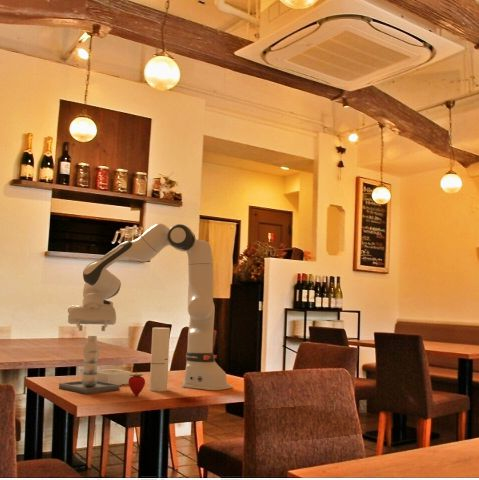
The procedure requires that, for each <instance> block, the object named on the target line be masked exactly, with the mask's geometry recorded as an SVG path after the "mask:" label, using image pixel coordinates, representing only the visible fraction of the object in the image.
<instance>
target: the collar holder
mask: <svg viewBox="0 0 479 480" xmlns="http://www.w3.org/2000/svg"><path fill="white" fill-rule="evenodd" d="M97 375H98V381H102V382H108V383H113V384H118V385H120V386H123V385H122V384H124V385H129V378H130V377H132V376H130V375H132V371H128V370H121V369H116V368H111V369H100V370H99V369H97Z"/></svg>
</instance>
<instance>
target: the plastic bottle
mask: <svg viewBox="0 0 479 480" xmlns="http://www.w3.org/2000/svg"><path fill="white" fill-rule="evenodd" d="M86 341H87V342H86V344H85V345H84V347H83V348H82V349H83V353H82V354H83V369H82V370H83V371H82V376H81V381H82V384H83V385H84V386H88V387H91V386H95V385H97V383H98V375H97V370H98V361H99V360H98V359H99V354H100V347H99V345H98V343H97V341H98V337H97V335H87V339H86Z"/></svg>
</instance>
